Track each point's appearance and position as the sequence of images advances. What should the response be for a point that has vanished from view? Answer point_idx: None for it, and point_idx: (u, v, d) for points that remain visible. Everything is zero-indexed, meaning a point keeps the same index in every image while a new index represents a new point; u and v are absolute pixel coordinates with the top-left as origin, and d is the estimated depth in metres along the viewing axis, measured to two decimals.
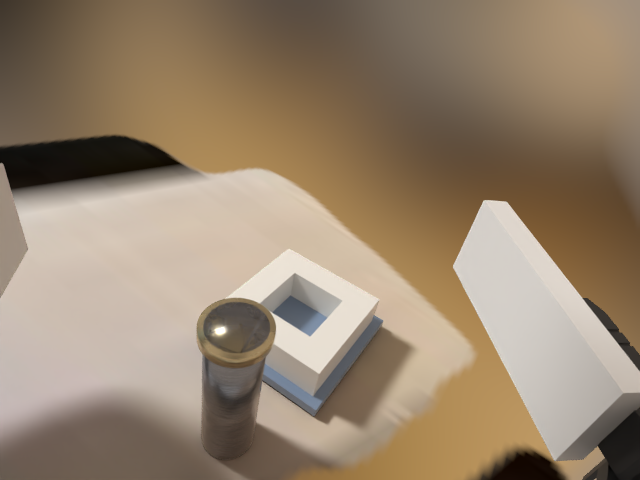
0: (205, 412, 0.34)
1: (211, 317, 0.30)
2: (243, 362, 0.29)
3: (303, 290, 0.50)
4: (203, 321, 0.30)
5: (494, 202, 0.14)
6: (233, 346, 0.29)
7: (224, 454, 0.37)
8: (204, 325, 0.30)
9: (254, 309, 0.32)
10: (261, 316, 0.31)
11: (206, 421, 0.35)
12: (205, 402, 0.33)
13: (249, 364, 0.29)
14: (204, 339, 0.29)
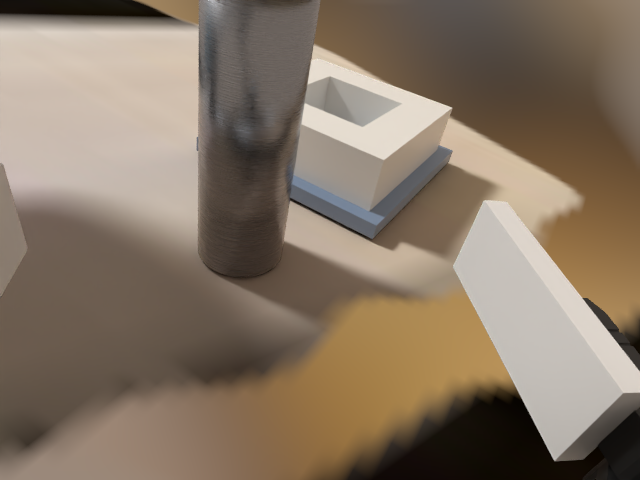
0: (204, 167, 0.20)
1: None
2: None
3: (342, 103, 0.35)
4: None
5: (494, 202, 0.14)
6: None
7: (236, 264, 0.22)
8: None
9: None
10: None
11: (206, 190, 0.20)
12: (204, 140, 0.19)
13: None
14: None
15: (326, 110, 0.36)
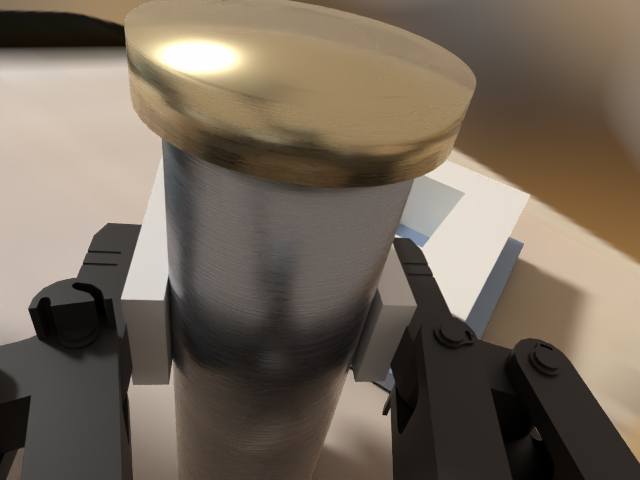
0: (183, 415, 0.11)
1: (196, 11, 0.07)
2: (364, 148, 0.05)
3: None
4: (160, 12, 0.07)
5: None
6: (307, 76, 0.06)
7: None
8: (163, 19, 0.07)
9: (363, 24, 0.08)
10: (394, 38, 0.08)
11: (188, 443, 0.11)
12: (182, 382, 0.10)
13: (386, 173, 0.06)
14: (157, 43, 0.06)
15: None
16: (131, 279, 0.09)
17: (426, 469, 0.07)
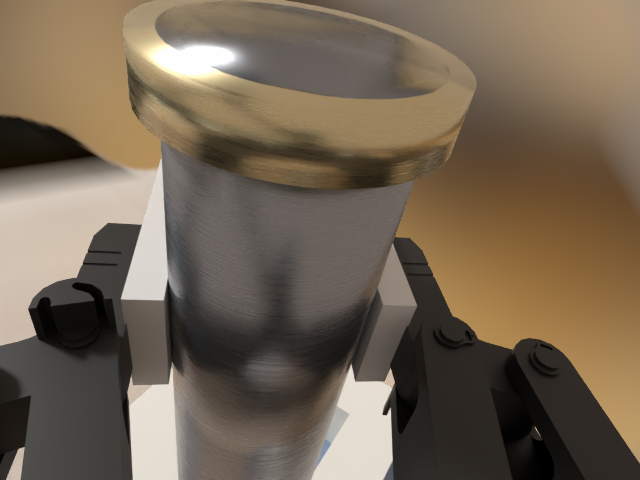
0: (183, 417, 0.11)
1: (195, 11, 0.07)
2: (364, 150, 0.05)
3: None
4: (159, 13, 0.07)
5: None
6: (306, 77, 0.06)
7: None
8: (162, 19, 0.06)
9: (362, 25, 0.08)
10: (394, 38, 0.08)
11: (187, 444, 0.11)
12: (181, 384, 0.10)
13: (386, 175, 0.06)
14: (156, 44, 0.06)
15: None
16: (131, 279, 0.09)
17: (426, 469, 0.07)
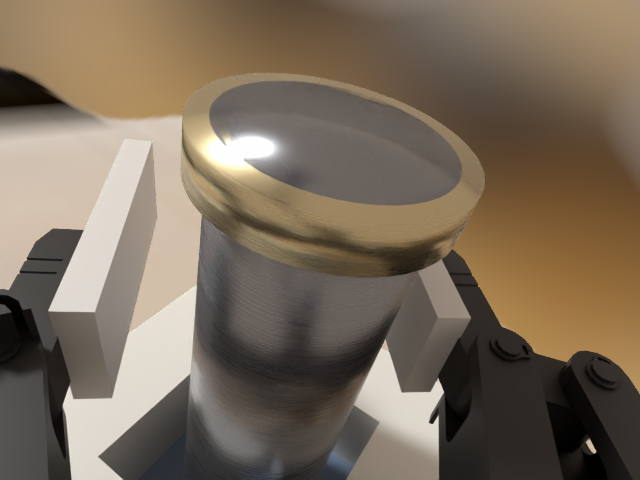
0: (197, 445, 0.12)
1: (240, 99, 0.08)
2: (392, 249, 0.06)
3: None
4: (210, 103, 0.08)
5: None
6: (344, 181, 0.07)
7: None
8: (214, 112, 0.07)
9: (383, 105, 0.09)
10: (411, 123, 0.09)
11: (199, 469, 0.12)
12: (199, 416, 0.11)
13: (408, 265, 0.07)
14: (216, 146, 0.07)
15: None
16: (62, 289, 0.08)
17: (477, 477, 0.07)
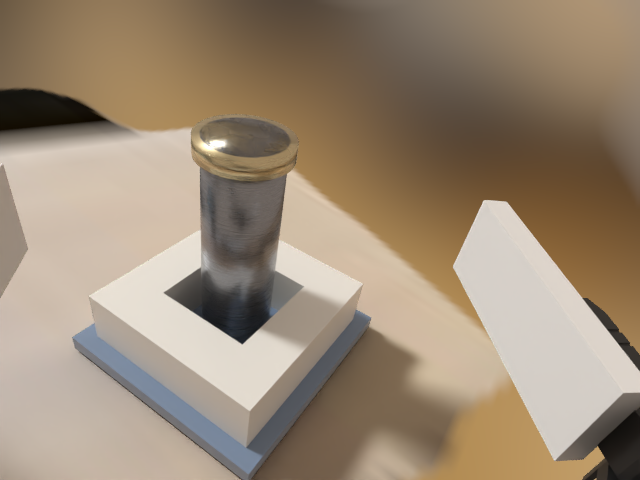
0: (205, 279, 0.26)
1: (211, 126, 0.22)
2: (255, 170, 0.21)
3: None
4: (200, 129, 0.22)
5: (494, 202, 0.14)
6: (241, 151, 0.21)
7: None
8: (201, 132, 0.22)
9: (269, 124, 0.24)
10: (278, 131, 0.23)
11: (207, 294, 0.27)
12: (205, 262, 0.25)
13: (264, 177, 0.21)
14: (201, 143, 0.21)
15: None
16: None
17: None
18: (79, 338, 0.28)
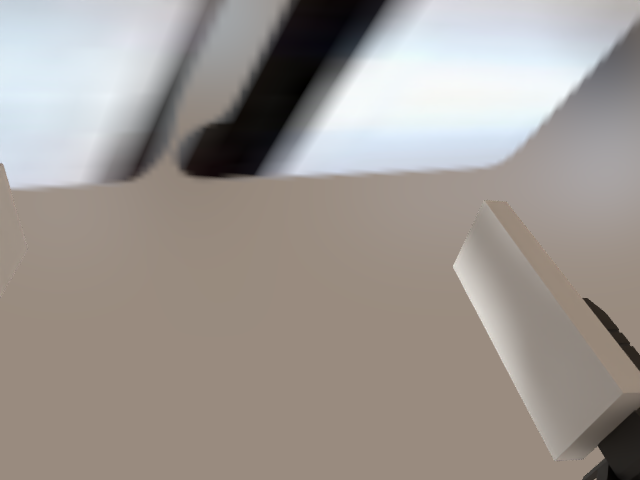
0: None
1: None
2: None
3: None
4: None
5: (494, 202, 0.14)
6: None
7: None
8: None
9: None
10: None
11: None
12: None
13: None
14: None
15: None
16: None
17: None
18: None
